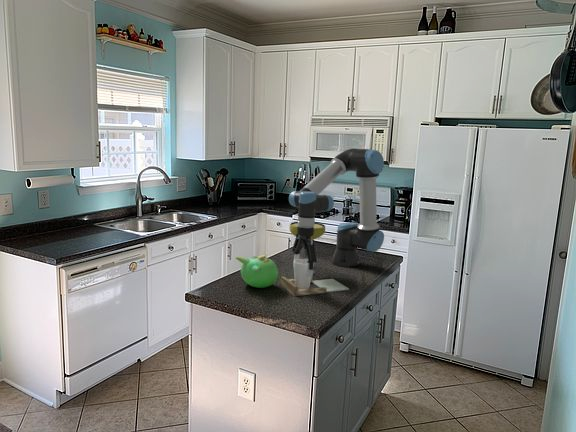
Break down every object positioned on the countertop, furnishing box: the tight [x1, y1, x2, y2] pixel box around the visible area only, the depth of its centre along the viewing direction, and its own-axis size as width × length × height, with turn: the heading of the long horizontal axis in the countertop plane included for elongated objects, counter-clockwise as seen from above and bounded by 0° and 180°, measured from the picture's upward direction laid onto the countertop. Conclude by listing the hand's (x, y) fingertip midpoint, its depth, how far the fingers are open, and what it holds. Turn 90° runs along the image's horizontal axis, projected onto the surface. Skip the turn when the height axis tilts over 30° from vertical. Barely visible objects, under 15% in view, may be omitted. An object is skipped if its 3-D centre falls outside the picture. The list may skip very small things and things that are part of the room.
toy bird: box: [235, 254, 279, 289], centre depth 202 cm, size 18×17×15 cm
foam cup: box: [292, 258, 315, 290], centre depth 203 cm, size 10×9×13 cm
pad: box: [312, 278, 350, 293], centre depth 210 cm, size 12×15×1 cm
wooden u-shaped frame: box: [280, 275, 328, 297], centre depth 204 cm, size 16×15×4 cm
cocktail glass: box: [289, 221, 326, 275], centre depth 227 cm, size 18×18×25 cm
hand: (302, 272), depth 202 cm, fingers open, 13 cm apart
